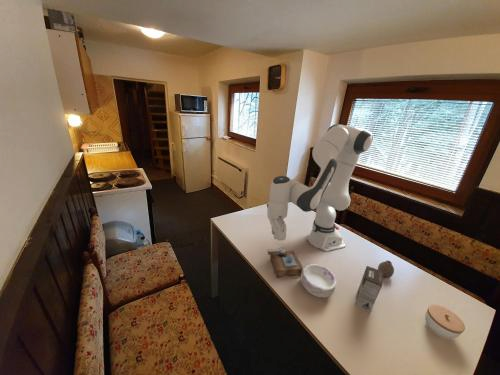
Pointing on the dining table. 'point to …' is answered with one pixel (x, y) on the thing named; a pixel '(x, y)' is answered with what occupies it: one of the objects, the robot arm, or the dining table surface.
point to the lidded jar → (443, 322)
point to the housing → (281, 269)
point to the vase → (386, 269)
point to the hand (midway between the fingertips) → (274, 235)
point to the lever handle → (276, 251)
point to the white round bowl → (318, 280)
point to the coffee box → (369, 288)
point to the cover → (289, 261)
